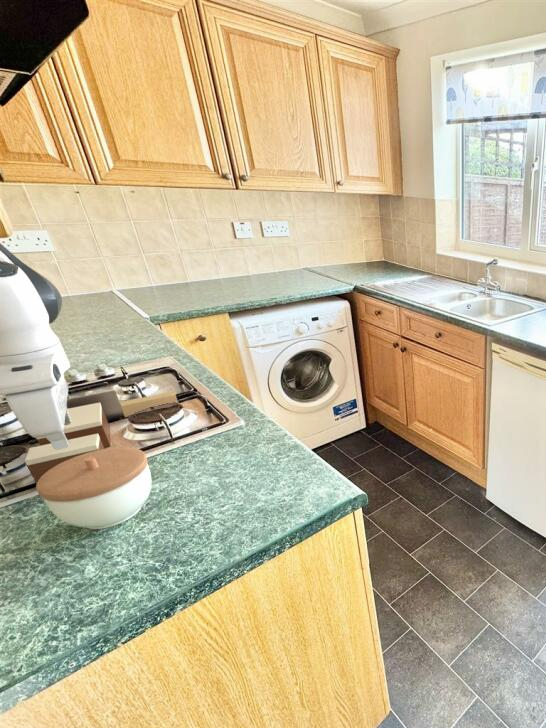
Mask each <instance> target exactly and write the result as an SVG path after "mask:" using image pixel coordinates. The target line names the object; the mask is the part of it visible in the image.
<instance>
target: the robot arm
mask: <svg viewBox="0 0 546 728" xmlns="http://www.w3.org/2000/svg"><path fill="white" fill-rule="evenodd" d="M62 305H63V298H62V295H61V293H60V291H59V290H58V288H57V287H56V286H55V285H54V283H52V281H50V280H49V279H48V278H47V277H45V276H44V275H42V274H41V273H39V272H37V271H36V270H35V269H33V268H31V267H30V266H29V265H28V264H26V263H24V262H23V261H22V260H20V259H19V257H17V256H16V255H15V254H13V253H12V252H11V251H10V250H9V249H8V248H7V247H6V246H4V245H3V244H2V243H1V242H0V396H4V398H5V400H6V402H7V404H8V406H9V408H10V410H11V411H12V413H13V414H14V416H15V418H16V419H17V420H18V422H19V423H20V425H21V426H22V428H23V430H24V431H25V432H26V433H27V434H28V435H29V436H31V437H32V438H34V439H36V438H39V437H45V438H47V439H48V440H49V441H50V442H51V444H52V446H53V448H54V449H55V450H59V449H63V448H67V447H68V446H69V441H68V439H67V436H66V435H65V434H64V432H63V430H64V425H69V424H70V423H71V418H70V416H69V414H68V410H67V406H66V405H67V399H68V395H69V387H68V383H67V382H66V381H67V380H66V379H65V372H67V371H68V370H69V369H71V363H70V361H69V358H68V356H67V354H66V351H65V349H64V347H63V344H62V343H61V341H60V338H59V336H57V334H56V333H55V332H54V331H53V329H52V328H51V324H53V323H54V322H55V321H56V320H57V319H58V317H59V315H60V313H61V310H62V307H63V306H62Z"/></svg>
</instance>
